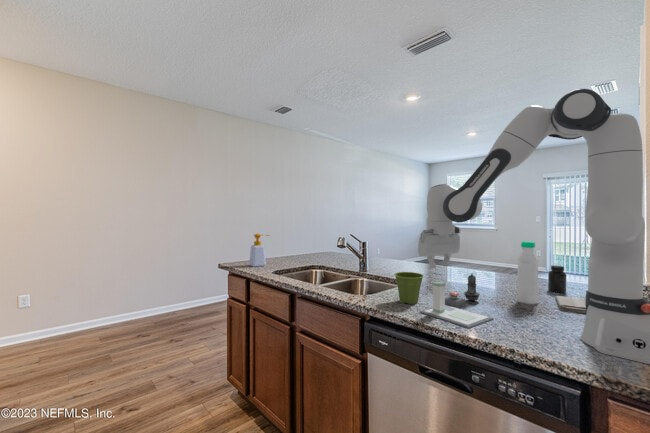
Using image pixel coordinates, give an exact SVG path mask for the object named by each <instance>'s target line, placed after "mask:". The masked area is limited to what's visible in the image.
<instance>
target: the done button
mask: <svg viewBox="0 0 650 433" xmlns="http://www.w3.org/2000/svg"><path fill="white" fill-rule="evenodd" d="M448 295H449V296H450V299H452V300H457V297H458V296H459V295H460V294H459V292H457V291H449V292H448Z"/></svg>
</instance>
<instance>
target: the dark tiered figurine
mask: <svg viewBox="0 0 650 433" xmlns="http://www.w3.org/2000/svg"><path fill="white" fill-rule="evenodd" d="M467 276H468V275H467ZM476 282H477V280H476V276H475V275H473V273H470V275H469V276H468V277H467V283H466V285H467V291H464V292H463V294H464V297H465V298H466V299H465V304H470V305H478V304H480V302H479V301H478V300H479V298H480V297H479V296H480V293H479V292H477V286H478V285H477V283H476Z"/></svg>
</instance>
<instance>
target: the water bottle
mask: <svg viewBox="0 0 650 433" xmlns="http://www.w3.org/2000/svg"><path fill="white" fill-rule="evenodd" d="M520 246H521V248H522V249H521V251H520V254H519V255H518V256H517V262H518V264H517V283H518V284H517V296H516V297H517V299H516V300H517V302H519V303H521V304H524V305H525V304H526V305H537V304H538V303H539V296H538V293H539V285H538V283H539V264H538V263H539V258H538V256H537V255H536V252H535V251H534V250H535V248H536V242H534V241H526V240H525V241H522V242H521V243H520Z"/></svg>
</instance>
